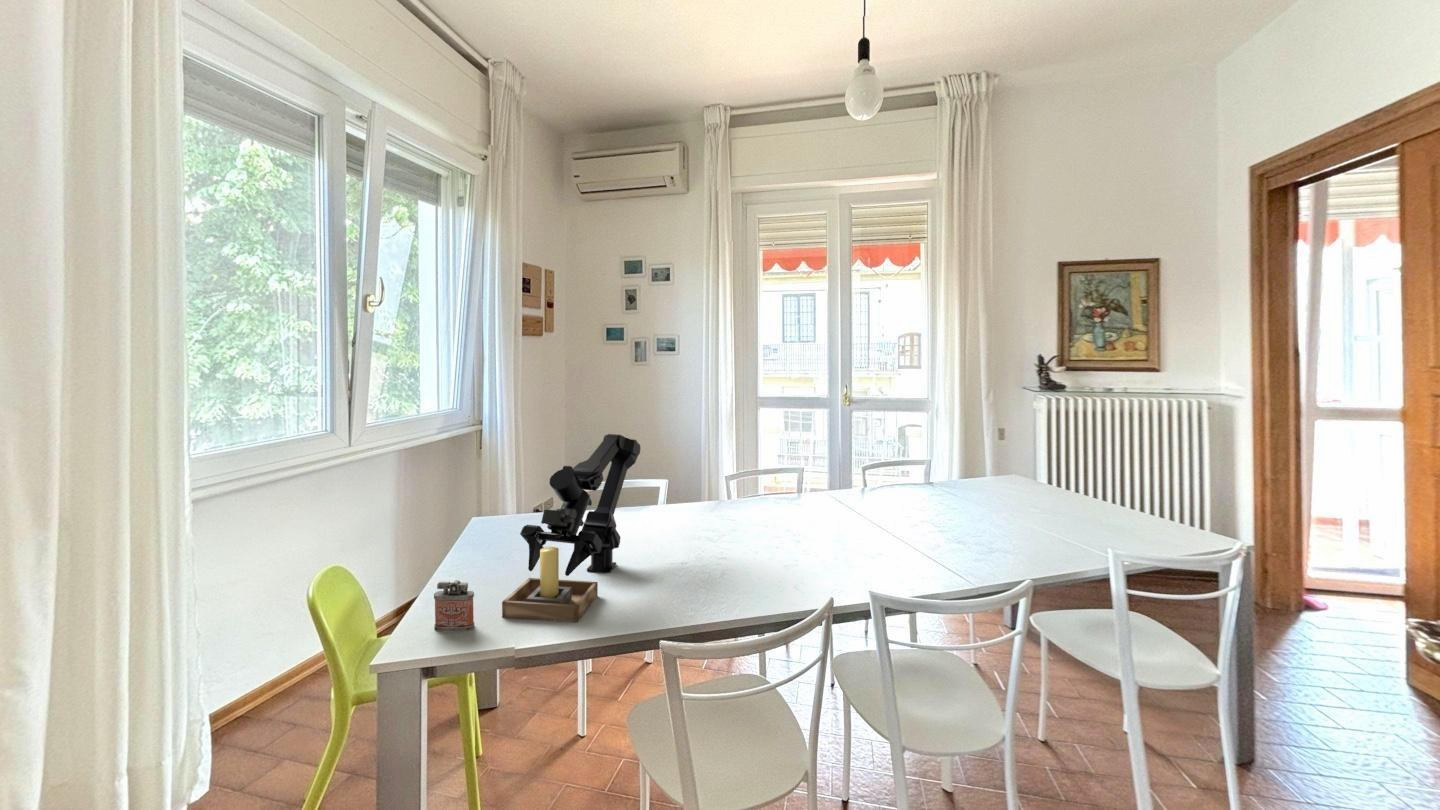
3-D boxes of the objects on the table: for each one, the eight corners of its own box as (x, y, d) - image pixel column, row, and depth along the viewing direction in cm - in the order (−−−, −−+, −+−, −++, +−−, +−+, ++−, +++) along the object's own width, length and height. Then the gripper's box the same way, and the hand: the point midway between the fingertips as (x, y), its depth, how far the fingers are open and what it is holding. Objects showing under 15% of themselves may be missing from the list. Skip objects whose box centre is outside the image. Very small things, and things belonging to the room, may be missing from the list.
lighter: (477, 624, 124) (476, 578, 123) (470, 631, 120) (470, 584, 119) (438, 624, 123) (437, 578, 123) (431, 631, 120) (430, 584, 119)
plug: (552, 600, 134) (552, 545, 133) (561, 605, 132) (561, 549, 131) (537, 605, 132) (536, 549, 130) (545, 611, 129) (545, 553, 128)
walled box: (529, 591, 141) (529, 576, 141) (597, 596, 139) (597, 580, 139) (502, 617, 127) (502, 600, 127) (577, 622, 125) (577, 605, 125)
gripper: (524, 491, 136) (495, 552, 127) (596, 497, 132) (572, 561, 122) (542, 515, 145) (517, 574, 135) (611, 521, 140) (590, 583, 130)
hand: (547, 572), depth 130 cm, fingers open, 9 cm apart
